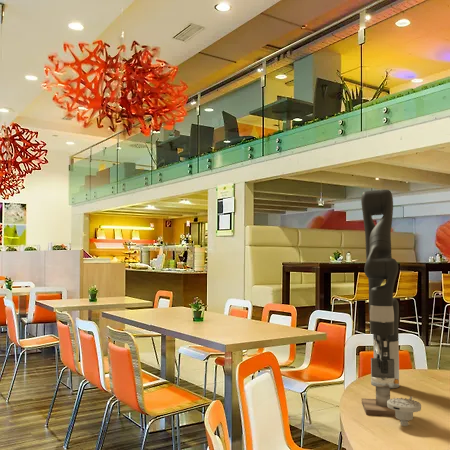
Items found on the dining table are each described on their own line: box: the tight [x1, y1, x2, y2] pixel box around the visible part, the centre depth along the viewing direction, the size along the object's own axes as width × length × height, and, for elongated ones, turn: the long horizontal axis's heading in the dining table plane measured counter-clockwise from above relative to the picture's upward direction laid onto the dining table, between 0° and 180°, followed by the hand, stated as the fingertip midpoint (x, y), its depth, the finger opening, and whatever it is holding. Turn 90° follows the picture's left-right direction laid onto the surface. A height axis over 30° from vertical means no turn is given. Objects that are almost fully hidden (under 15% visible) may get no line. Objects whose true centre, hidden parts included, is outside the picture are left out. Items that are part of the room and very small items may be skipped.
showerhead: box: [387, 396, 422, 427], centre depth 147 cm, size 9×7×10 cm
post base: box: [361, 386, 396, 417], centre depth 162 cm, size 13×12×8 cm
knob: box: [370, 357, 400, 389], centre depth 162 cm, size 7×8×8 cm
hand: (382, 370), depth 162 cm, fingers open, 8 cm apart
